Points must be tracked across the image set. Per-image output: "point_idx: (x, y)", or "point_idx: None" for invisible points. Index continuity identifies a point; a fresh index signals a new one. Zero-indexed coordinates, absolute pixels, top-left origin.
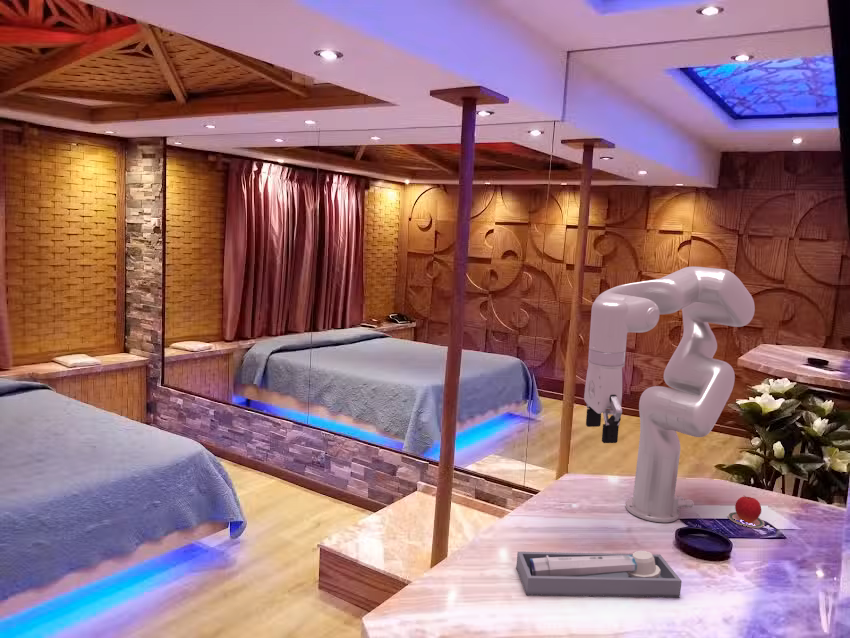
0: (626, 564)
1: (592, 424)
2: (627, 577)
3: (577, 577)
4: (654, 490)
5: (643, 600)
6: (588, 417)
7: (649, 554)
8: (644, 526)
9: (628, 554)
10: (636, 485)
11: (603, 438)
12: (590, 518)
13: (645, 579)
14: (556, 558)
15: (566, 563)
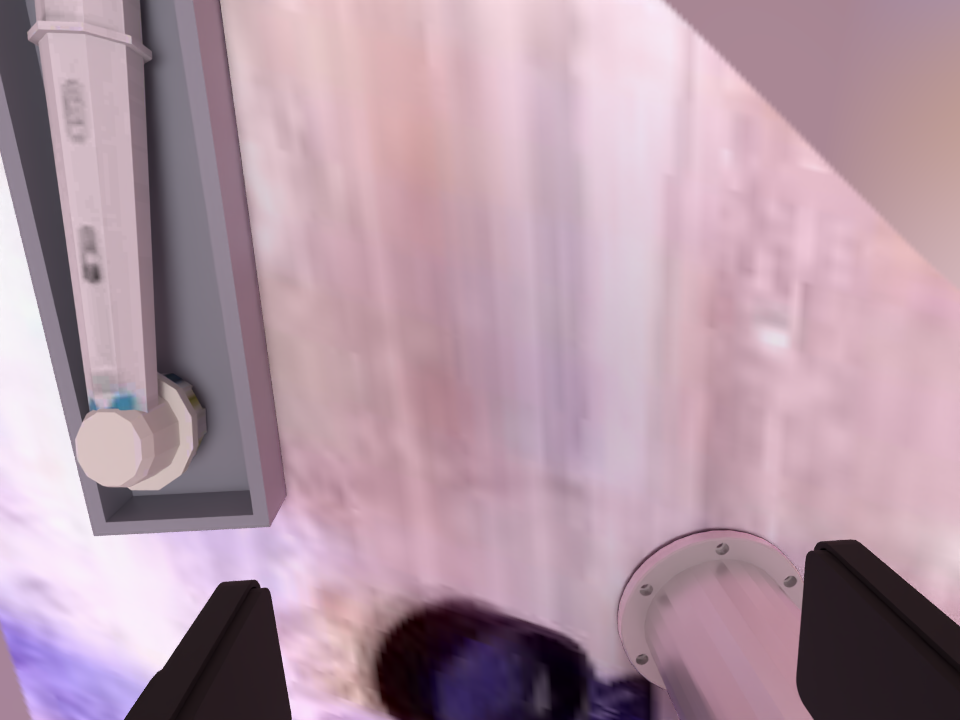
0: (84, 370)
1: (819, 622)
2: (196, 376)
3: (11, 151)
4: (689, 674)
5: None
6: (899, 639)
7: (108, 476)
8: (593, 548)
9: (247, 413)
10: (763, 620)
11: (200, 620)
12: (655, 373)
13: (71, 418)
14: (75, 71)
15: (54, 113)
